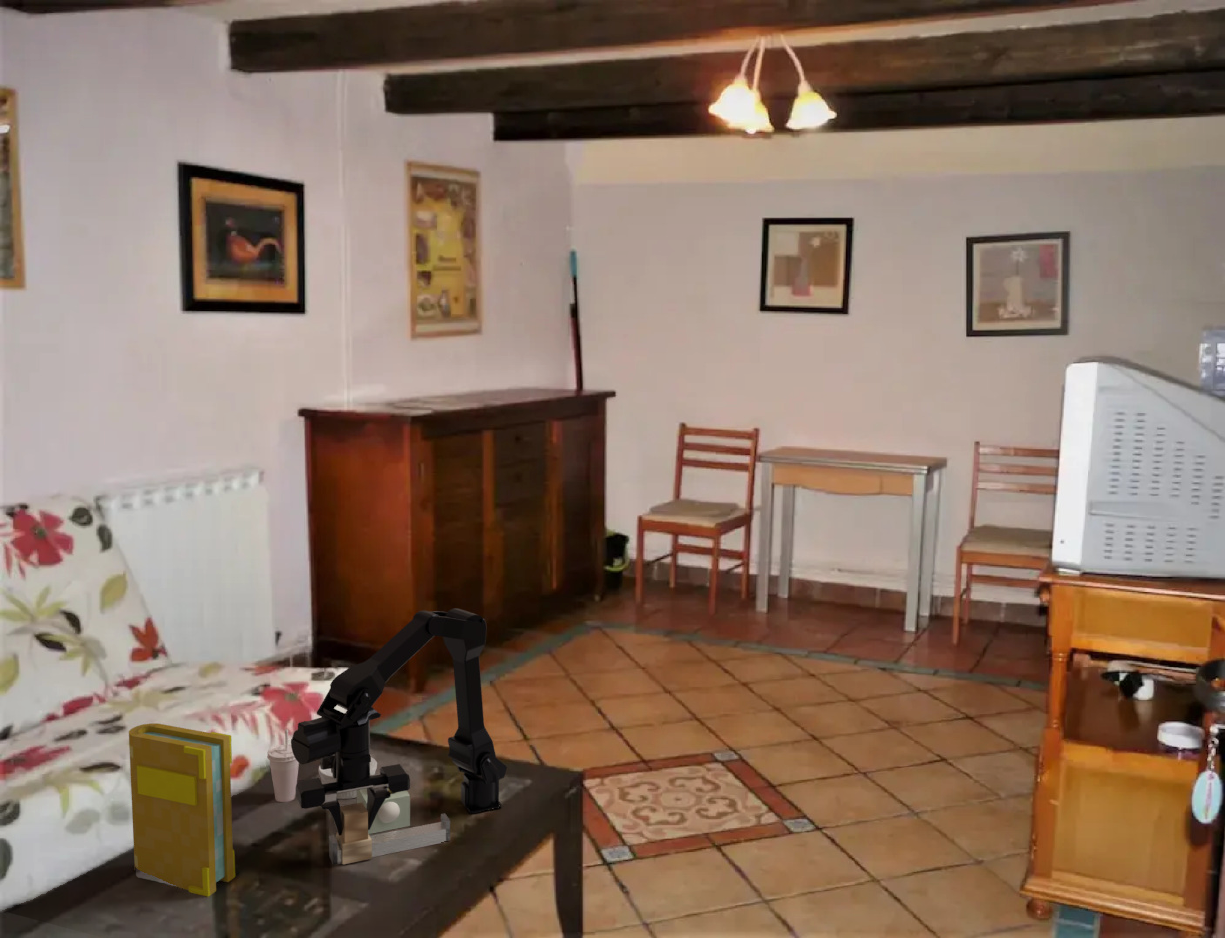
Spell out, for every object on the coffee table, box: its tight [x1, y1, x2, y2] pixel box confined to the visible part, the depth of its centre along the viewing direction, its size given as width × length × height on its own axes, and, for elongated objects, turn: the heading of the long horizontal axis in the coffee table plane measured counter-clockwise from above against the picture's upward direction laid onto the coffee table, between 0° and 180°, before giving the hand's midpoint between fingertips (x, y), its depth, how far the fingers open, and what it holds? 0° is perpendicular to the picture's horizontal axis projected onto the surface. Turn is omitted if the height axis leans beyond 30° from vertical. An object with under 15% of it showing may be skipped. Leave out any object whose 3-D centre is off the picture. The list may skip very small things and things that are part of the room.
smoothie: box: [267, 728, 300, 803], centre depth 209 cm, size 6×6×14 cm
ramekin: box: [318, 756, 378, 800], centre depth 214 cm, size 11×11×5 cm
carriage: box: [335, 802, 373, 865], centre depth 187 cm, size 5×5×8 cm
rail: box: [328, 812, 451, 866], centre depth 191 cm, size 21×3×4 cm, turn 116°
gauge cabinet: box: [356, 788, 411, 835], centre depth 201 cm, size 8×8×6 cm
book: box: [128, 723, 236, 898], centre depth 178 cm, size 17×7×25 cm, turn 71°
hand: (353, 831), depth 187 cm, fingers open, 5 cm apart
